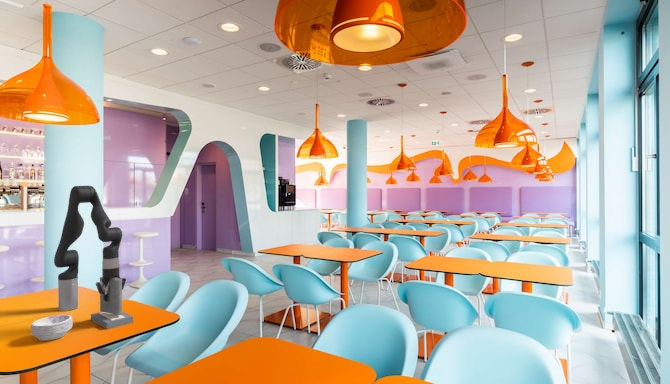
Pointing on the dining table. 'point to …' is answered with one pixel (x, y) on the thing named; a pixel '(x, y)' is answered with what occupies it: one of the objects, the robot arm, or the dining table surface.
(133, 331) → the dining table surface
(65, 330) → the paper bowls
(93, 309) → the dining table surface
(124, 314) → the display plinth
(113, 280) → the hip flask
